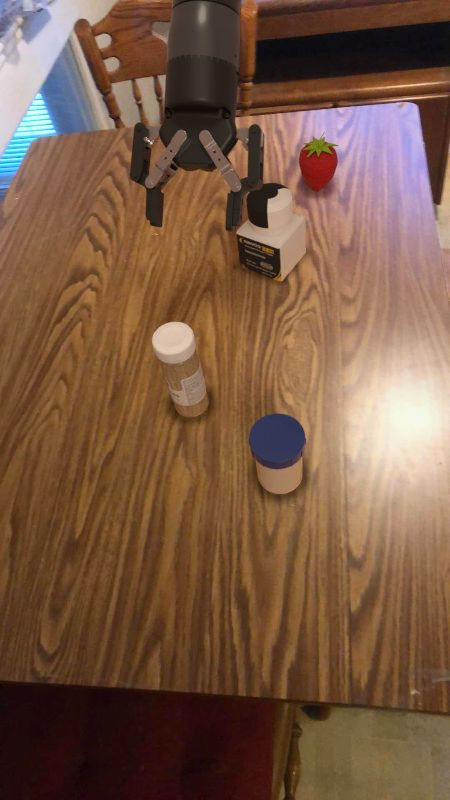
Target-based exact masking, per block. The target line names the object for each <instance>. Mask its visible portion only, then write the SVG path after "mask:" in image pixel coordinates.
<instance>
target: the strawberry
mask: <svg viewBox="0 0 450 800" xmlns="http://www.w3.org/2000/svg"><path fill="white" fill-rule="evenodd" d="M324 135H325V131H324V132H323V133H322V134H321V136H320V138H319V139H317V138H316V137H315V136H312V141H309V142H303V145H304V146H303V147H302V149H301V150H300V152H299V156H298V166H299V169H300V174H301V176H302V177H303V179H304V180H305V182H306V184H307V185H308V186H309V187H310V188H311V190H313V191H315V192H320V191H322V190H323V189H324V188H325V187H326V186H327V185H328V184H329V183H330V182H331V181H332V179H333V177H334V176H335V173H336V170H337V167H338V164H339V159H338V153H337V150H336V149H335V148H334V147H339V144H336V143H331V142H327V141H326V136H324Z"/></svg>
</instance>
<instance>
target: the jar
mask: <svg viewBox="0 0 450 800" xmlns="http://www.w3.org/2000/svg"><path fill="white" fill-rule="evenodd" d="M303 460H304V459H303V457H301V459H300V460H299V461H298V462H297V463H295V464H294V465H292V466H290V467H288V468H285V469H278V470H277V469H270V468H267V467H264V466H262V465H261V464H259V463H258V462H257V461H256V460H255V459H254V462H255V468H256V474H257V479H258V482H259V484H260V486H262V488H263V489H265V490H266V491H268V492H269V493H271V494H276V495H284V494H288V493H291V492H293V491H294V490H296V489H297V488H298V487H299V485H300V484H301V482H302V480H303V474H304V469H303V468H304V467H303V464H304V463H303Z"/></svg>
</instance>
